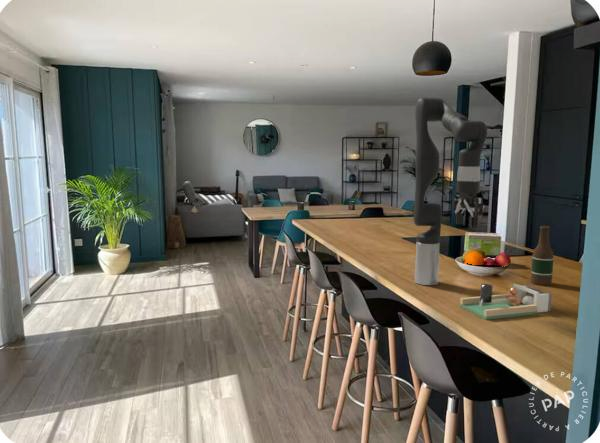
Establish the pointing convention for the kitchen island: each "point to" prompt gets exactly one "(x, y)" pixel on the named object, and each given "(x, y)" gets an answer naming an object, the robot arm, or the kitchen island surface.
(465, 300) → the pitch
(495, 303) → the striker
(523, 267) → the kitchen island surface
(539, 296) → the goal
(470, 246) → the tea box
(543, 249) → the beer bottle
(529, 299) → the ball
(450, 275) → the kitchen island surface
